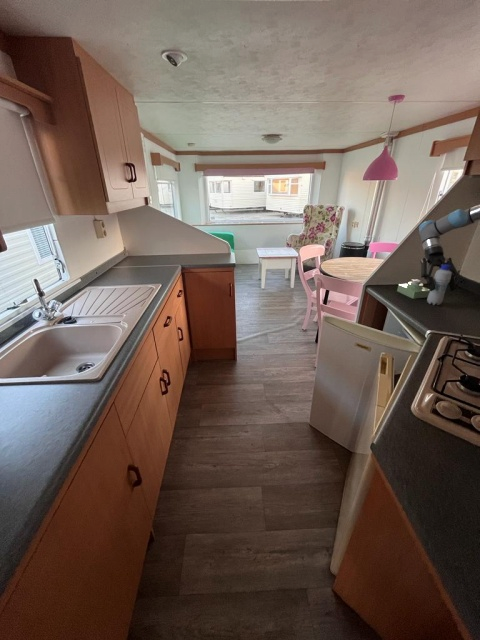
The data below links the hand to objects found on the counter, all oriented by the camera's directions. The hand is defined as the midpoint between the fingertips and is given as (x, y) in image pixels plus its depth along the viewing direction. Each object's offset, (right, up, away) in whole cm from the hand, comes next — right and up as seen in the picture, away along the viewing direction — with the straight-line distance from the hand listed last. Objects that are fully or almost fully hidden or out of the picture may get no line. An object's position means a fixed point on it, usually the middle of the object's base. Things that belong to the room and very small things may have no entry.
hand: (443, 289), depth 127 cm
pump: (-2, +5, +16) cm, 17 cm away
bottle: (0, -6, +7) cm, 9 cm away
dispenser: (-2, 0, +19) cm, 19 cm away
